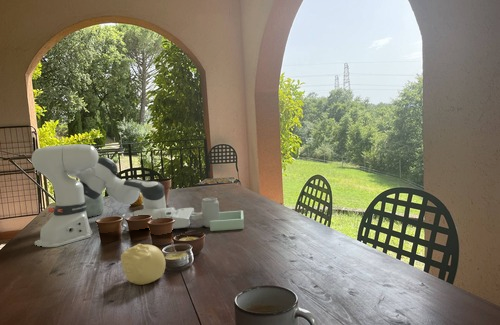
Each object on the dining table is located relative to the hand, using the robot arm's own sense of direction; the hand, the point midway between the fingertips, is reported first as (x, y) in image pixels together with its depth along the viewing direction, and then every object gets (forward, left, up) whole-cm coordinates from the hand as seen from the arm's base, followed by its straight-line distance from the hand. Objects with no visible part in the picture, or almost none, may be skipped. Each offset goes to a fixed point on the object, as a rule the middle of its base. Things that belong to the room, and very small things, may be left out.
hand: (202, 215), depth 171 cm
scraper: (+14, +12, -5) cm, 19 cm away
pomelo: (-55, -19, -5) cm, 58 cm away
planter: (+2, +72, -5) cm, 73 cm away
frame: (+4, -10, -4) cm, 11 cm away
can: (+1, -4, -5) cm, 6 cm away
